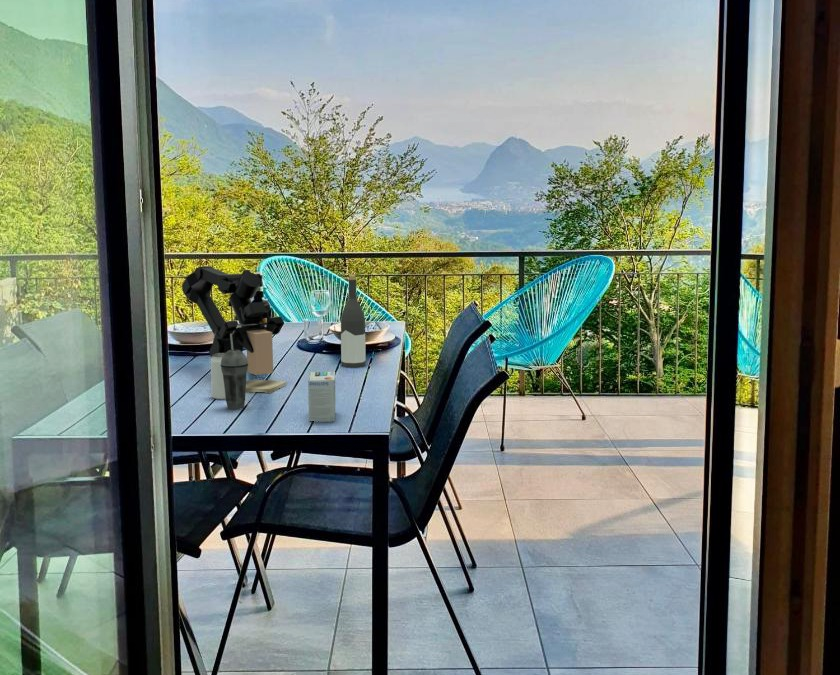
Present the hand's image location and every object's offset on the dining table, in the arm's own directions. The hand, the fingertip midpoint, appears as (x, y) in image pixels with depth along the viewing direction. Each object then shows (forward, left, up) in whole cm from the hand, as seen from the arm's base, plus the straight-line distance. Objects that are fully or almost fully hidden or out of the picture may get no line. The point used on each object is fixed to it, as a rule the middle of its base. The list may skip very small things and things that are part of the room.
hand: (261, 350), depth 252 cm
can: (-6, -12, -11) cm, 18 cm away
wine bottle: (+13, +41, -11) cm, 44 cm away
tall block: (-1, +1, -7) cm, 7 cm away
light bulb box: (+29, -25, -12) cm, 40 cm away
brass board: (-1, +1, -11) cm, 11 cm away
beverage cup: (+3, -22, -11) cm, 25 cm away
